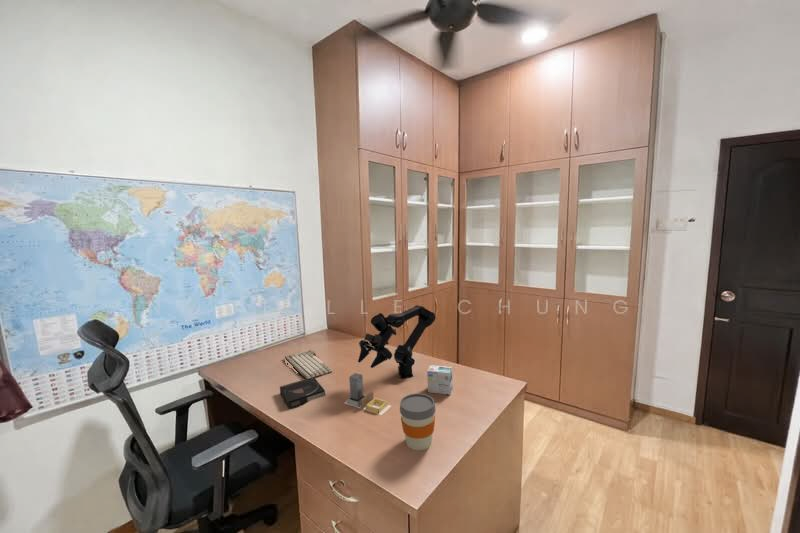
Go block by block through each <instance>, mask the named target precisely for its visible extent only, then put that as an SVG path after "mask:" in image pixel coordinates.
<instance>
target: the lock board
mask: <svg viewBox="0 0 800 533" xmlns="http://www.w3.org/2000/svg"><path fill="white" fill-rule="evenodd" d="M374 396H375V395H374V391H370V392H368V393H367V394H364V397H363V398H362V399H361V400H360V401H359V402H357V401H353V400H351V396H349V397H348V398H346V401H345V402H344V404H345V405H348V406H352V407H355V408H357V409H361V410H364V411H367V412H370V413H373V414H376V415H379V416H383V415H384V413H385V412H387V411H388V410H389V409H390V408H391V407H392V405H390V404H388V401H387V400H383V399H380V398H376V397H374Z"/></svg>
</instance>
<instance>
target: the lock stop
mask: <svg viewBox="0 0 800 533" xmlns="http://www.w3.org/2000/svg"><path fill="white" fill-rule="evenodd" d="M348 378H349V390H350V391H349V392H350V397H351V400H353V401H357V402H359V401H360V400H361V399H362V398H363V397H364V395H365V394H364V393H365V392H364V382H363V381H364V379H363V374H361V373H356V372H355V373H353V374H351V375H350V376H349V377H348Z"/></svg>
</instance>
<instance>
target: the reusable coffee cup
mask: <svg viewBox="0 0 800 533" xmlns="http://www.w3.org/2000/svg"><path fill="white" fill-rule="evenodd" d="M399 402H400V403H399V413H400V415H401V416H400V421H401V422H400V423H401V426H402V431H403V433H404V435H405V437H404V438H405V441H406V445H407V447H408V448H409V449H411V450H413V451H425V450H426V449H428V448H430V447H431V446H432V441H433V432H434V431H435V424H436V423H435V422H436V414H435V413H436V404H435V400H434V398H433V397H432V396H430V395H427V394H426V393H411V394H407V395H405V396H404V397H402V398H401V400H400V401H399Z"/></svg>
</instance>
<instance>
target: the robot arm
mask: <svg viewBox="0 0 800 533" xmlns="http://www.w3.org/2000/svg"><path fill="white" fill-rule="evenodd" d="M417 316H418V317H417ZM414 317H417V320H418V321H417V324H416V325H415V327H414V329H413V330H412V331H411V333H410V335H409V337H408V338H407V340H405V342H404V343H403V344H398V345H397V347H396V349H395V350H394V354H393V353H392V352H391V351H390V349H389V348H387V347H386V345H387V346H388V345H389V344H390V343H389V340H390V339H391V337H392V336H393V335H394V336H397V331H396V329H399V328H401V327H402V326H403V325H404V324H405V322H406V321H408V320H411V319H413V318H414ZM435 320H436V314H435V313H434V312H433V311H431V310H429V309H428V308H425V307H424V306H423V305H419V304H418V305H417V304H416V305H415V306H413V307H411V308H409V309H407V310H404V311H402V312H399V313H390V314H388V315H387V316H386V317H385V315H384V314H383V313H382V312H378V314H376V315H374V316H372V317H371V319H370V324H371V325H372V326H373V327H374V328H375V329H376V330H377V331H378V334H377V333H376V334H374V335H373V334H371V333H368V332H366V333H365V336H364V339H361V340H360V341H359V342H358V345H359V347H360V353H359V356H358V360H357V363H358V364H359V363H361V362H362V361H364V359H366V357H368V355H369V354H370V352H371V351H373V352H376V356H375V358H374V360H373V362H371V365H370V368H371V369H373V368H375V367H376V366H378V365H380V364H381V363H384V362H387V361H388V360H389V361H391V359H392V357H393V358H394V361H395V362H396V363H397V364H398V366H397V371H398V372H397V374H398V376H399V377H400V379H405V378H407V379H408V378H412V377H414V375H413V366H414V365H415V362H416V360H415V359H414V357H413V349H414V348H415V346H416V345H417V343H418V341H419V340H420V338H421V337H422V335H423V333H424V331H425V330H426V328H428V327H430V326H431V325H433V323H434V322H435Z"/></svg>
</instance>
